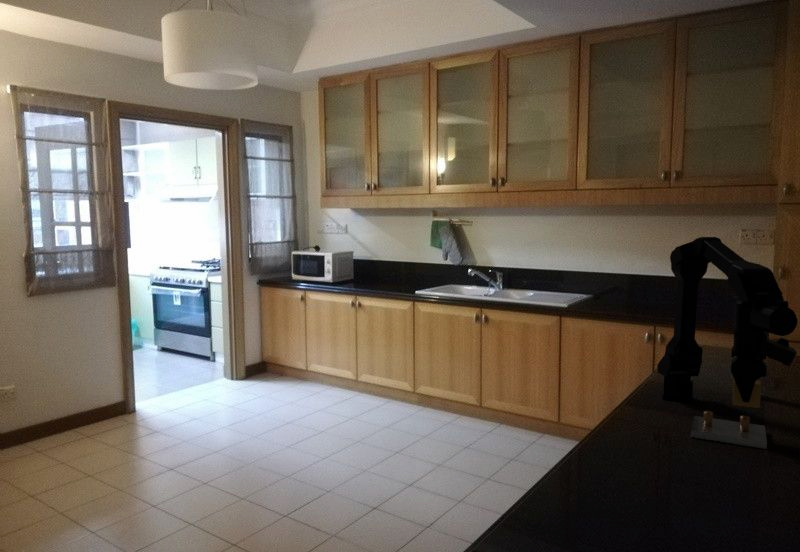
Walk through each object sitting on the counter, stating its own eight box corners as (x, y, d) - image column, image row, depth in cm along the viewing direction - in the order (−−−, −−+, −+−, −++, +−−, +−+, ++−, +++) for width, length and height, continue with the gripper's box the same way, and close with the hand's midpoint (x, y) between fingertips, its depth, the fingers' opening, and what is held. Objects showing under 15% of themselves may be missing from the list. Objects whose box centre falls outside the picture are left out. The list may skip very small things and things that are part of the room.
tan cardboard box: (732, 404, 129) (733, 381, 129) (732, 398, 134) (733, 376, 133) (759, 408, 127) (761, 384, 126) (759, 401, 131) (760, 379, 131)
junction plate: (690, 437, 131) (691, 416, 131) (693, 422, 141) (694, 403, 140) (766, 449, 124) (767, 427, 124) (764, 432, 134) (765, 412, 134)
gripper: (799, 338, 117) (794, 417, 118) (791, 322, 133) (787, 392, 135) (732, 332, 122) (728, 408, 124) (733, 318, 138) (729, 386, 140)
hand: (745, 398), depth 130 cm, fingers closed on tan cardboard box, 5 cm apart
